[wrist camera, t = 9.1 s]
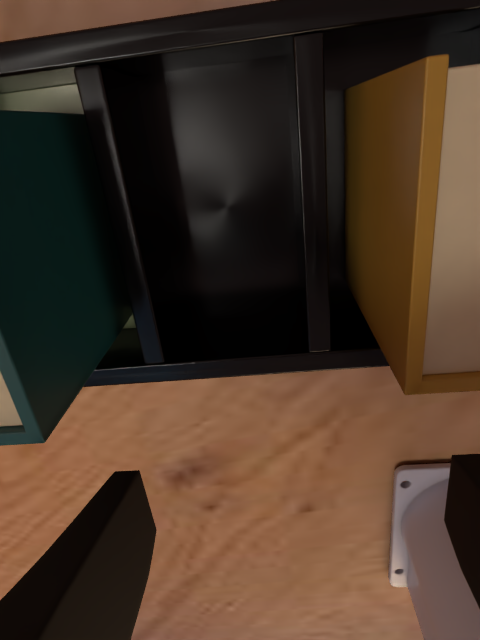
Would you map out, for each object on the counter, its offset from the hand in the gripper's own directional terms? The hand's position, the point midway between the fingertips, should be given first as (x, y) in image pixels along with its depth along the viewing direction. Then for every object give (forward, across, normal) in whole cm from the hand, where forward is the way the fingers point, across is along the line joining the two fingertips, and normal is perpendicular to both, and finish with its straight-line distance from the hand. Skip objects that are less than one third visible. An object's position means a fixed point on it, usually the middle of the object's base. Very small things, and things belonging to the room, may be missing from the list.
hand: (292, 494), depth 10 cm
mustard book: (+9, -4, -5) cm, 11 cm away
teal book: (+9, +8, -5) cm, 13 cm away
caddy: (+10, +2, -5) cm, 11 cm away
